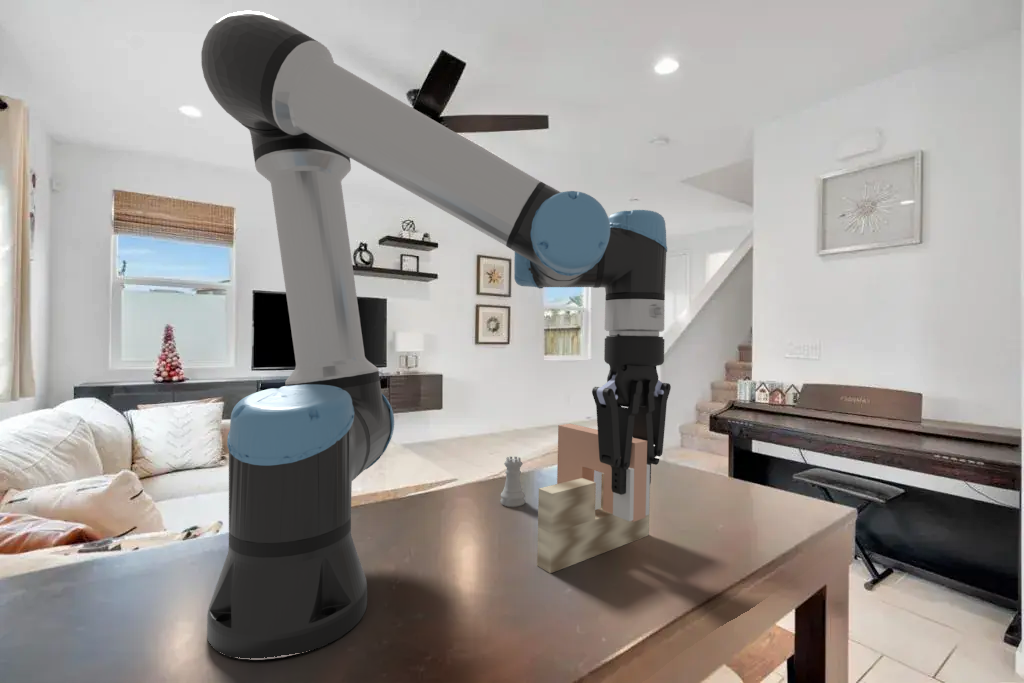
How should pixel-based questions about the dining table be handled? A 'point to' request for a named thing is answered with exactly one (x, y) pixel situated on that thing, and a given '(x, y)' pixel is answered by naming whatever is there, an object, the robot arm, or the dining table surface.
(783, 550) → the dining table surface
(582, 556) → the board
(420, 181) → the robot arm
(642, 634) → the dining table surface
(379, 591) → the dining table surface
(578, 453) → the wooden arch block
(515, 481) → the rook chess piece
